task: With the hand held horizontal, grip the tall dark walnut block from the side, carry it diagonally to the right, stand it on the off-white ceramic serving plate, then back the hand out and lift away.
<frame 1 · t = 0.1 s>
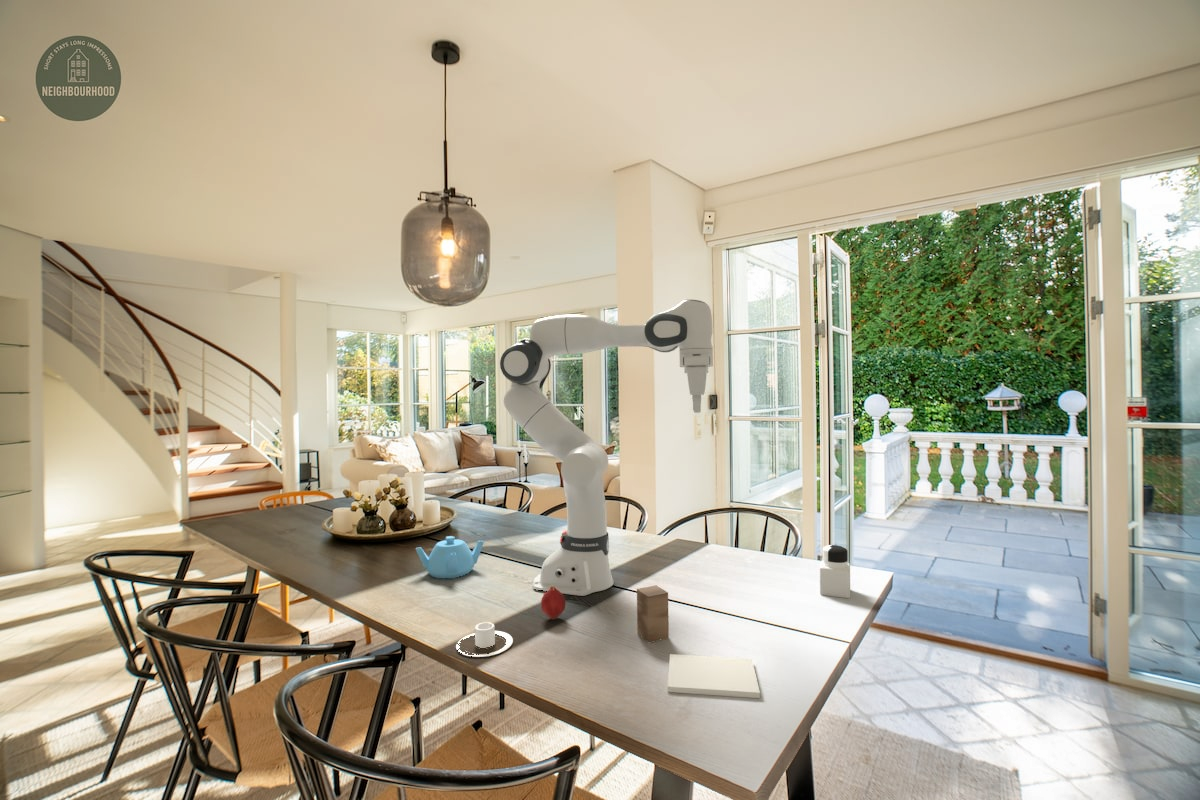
hand: (696, 411, 147), 48 cm above the table, tool pointing down, fingers open, 8 cm apart
medicine bottle: (835, 592, 143), on the table
candle holder: (484, 647, 117), on the table
teapot: (451, 573, 165), on the table
walnut block: (653, 635, 120), on the table
onion: (553, 619, 130), on the table
serving plate: (711, 677, 102), on the table
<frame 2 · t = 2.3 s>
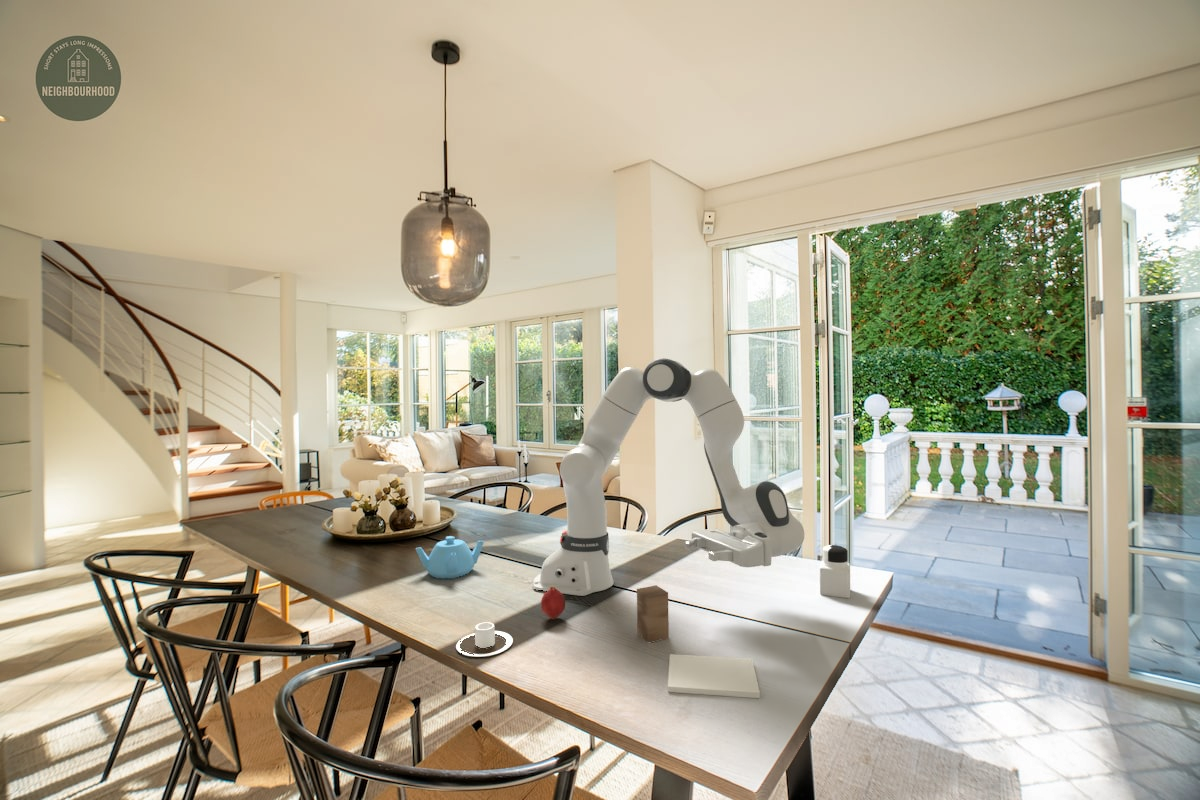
hand: (697, 551, 125), 17 cm above the table, tool horizontal, fingers open, 8 cm apart
nothing on the table moved.
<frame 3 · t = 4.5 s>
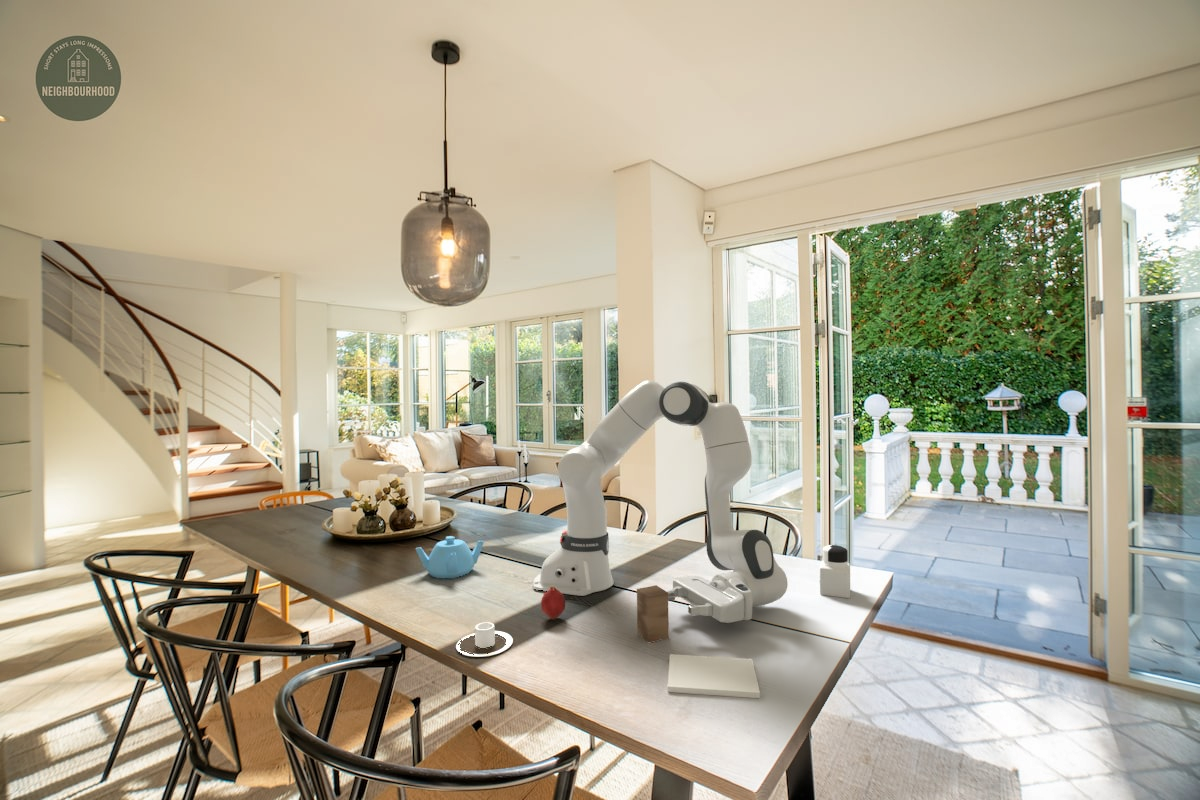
hand: (677, 603, 123), 6 cm above the table, tool horizontal, fingers open, 8 cm apart
nothing on the table moved.
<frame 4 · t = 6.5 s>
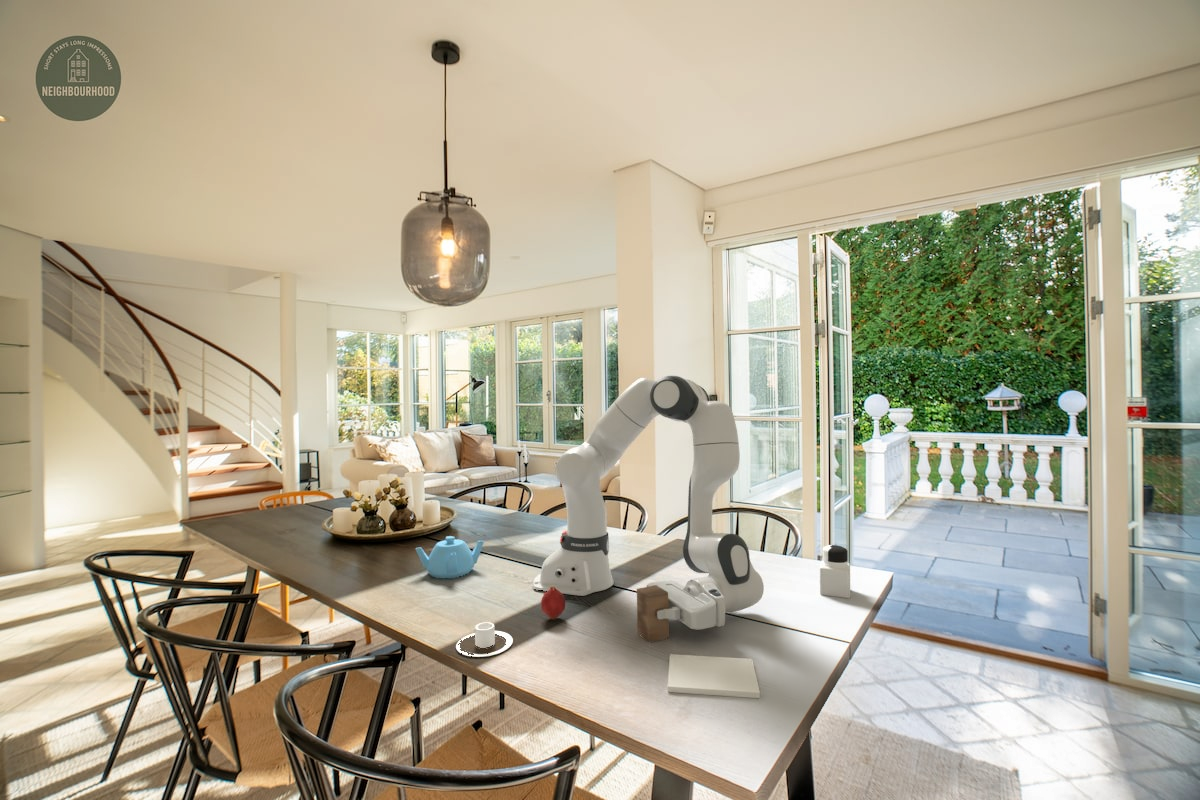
hand: (649, 609, 120), 6 cm above the table, tool horizontal, fingers closed on walnut block, 5 cm apart
walnut block: (653, 635, 120), on the table, touching gripper
everything else where it was.
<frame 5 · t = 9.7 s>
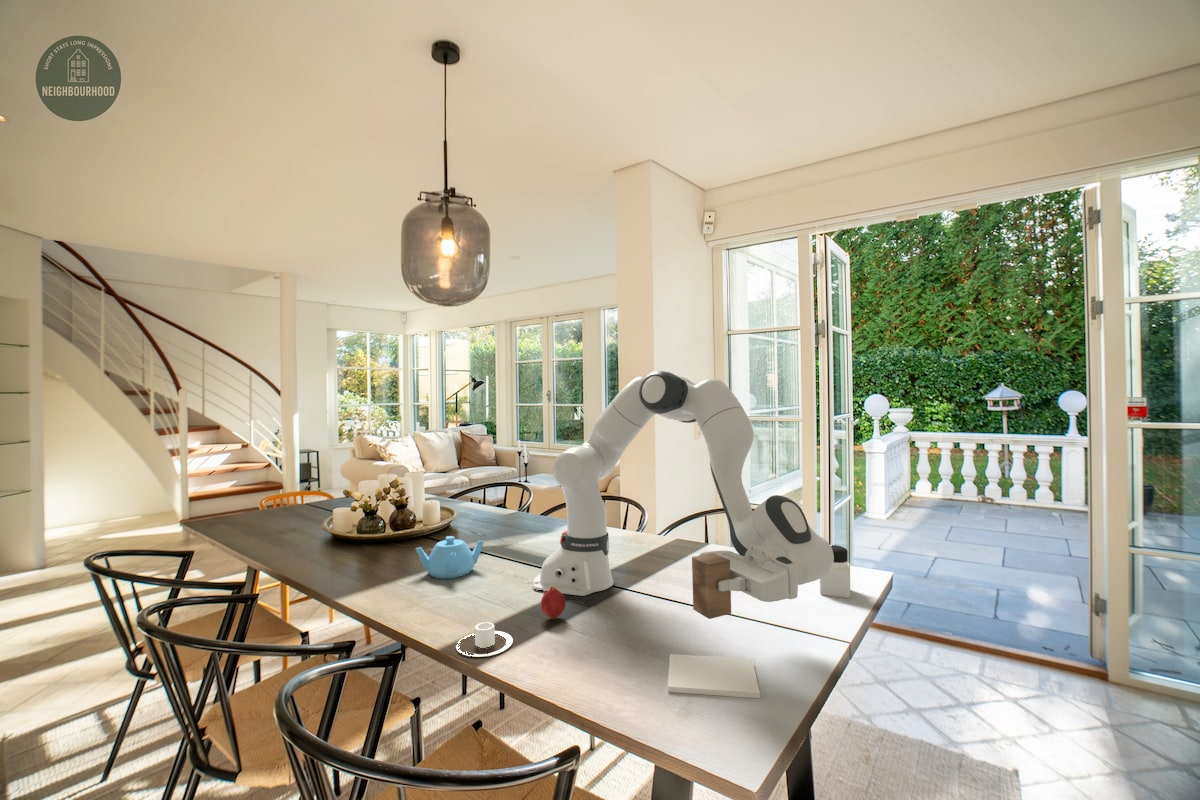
hand: (707, 580, 102), 18 cm above the table, tool horizontal, fingers closed on walnut block, 5 cm apart
walnut block: (712, 611, 102), point 12 cm above the table, touching gripper
everything else where it was.
when the fingers open (8 cm above the table, at t = 12.9 s): walnut block drops 1 cm, resting on serving plate.
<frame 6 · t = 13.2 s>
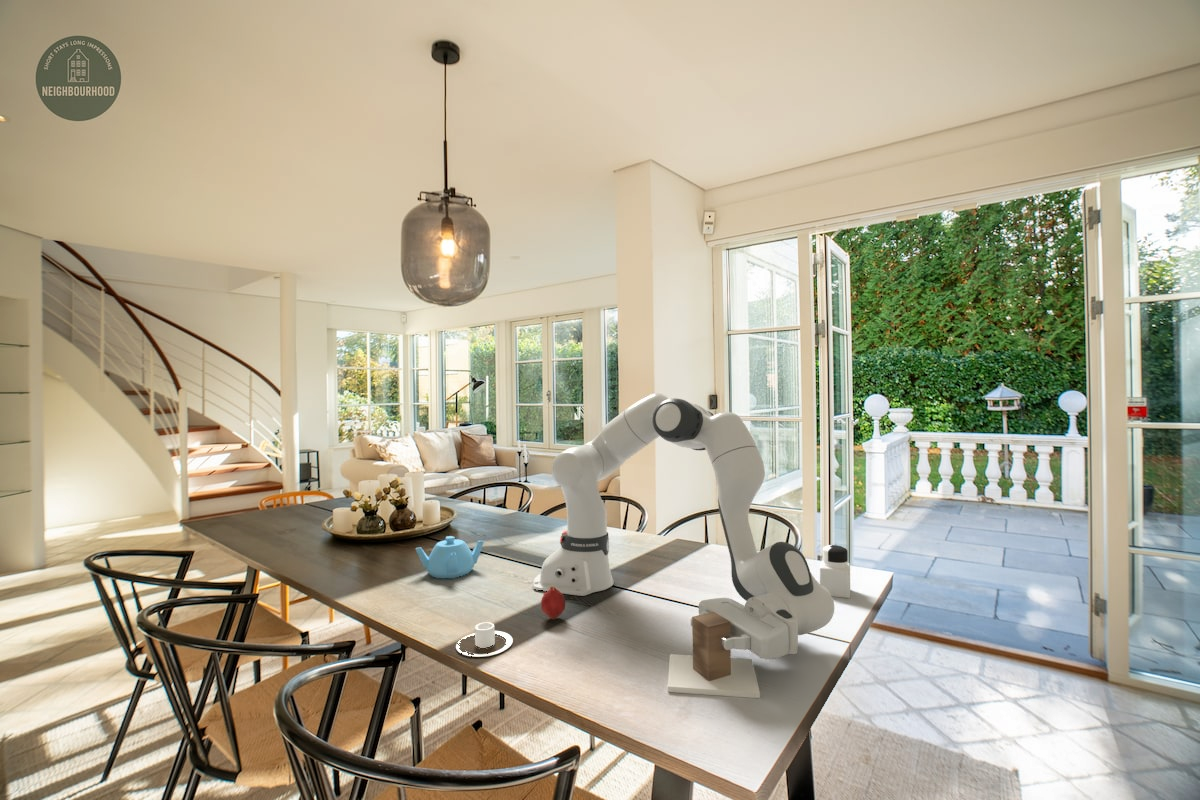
hand: (707, 633, 102), 8 cm above the table, tool horizontal, fingers open, 8 cm apart
walnut block: (711, 671, 102), point 1 cm above the table, touching serving plate
everything else where it was.
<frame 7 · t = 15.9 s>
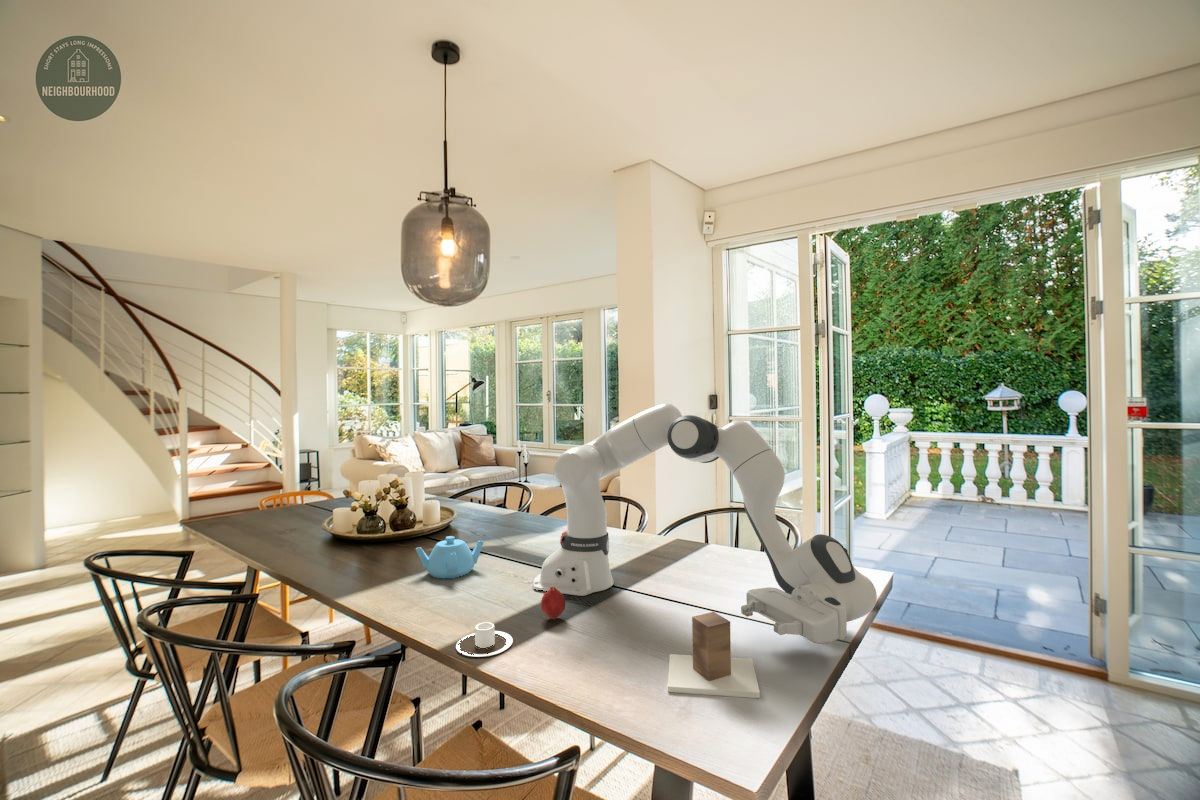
hand: (759, 620, 107), 9 cm above the table, tool horizontal, fingers open, 8 cm apart
nothing on the table moved.
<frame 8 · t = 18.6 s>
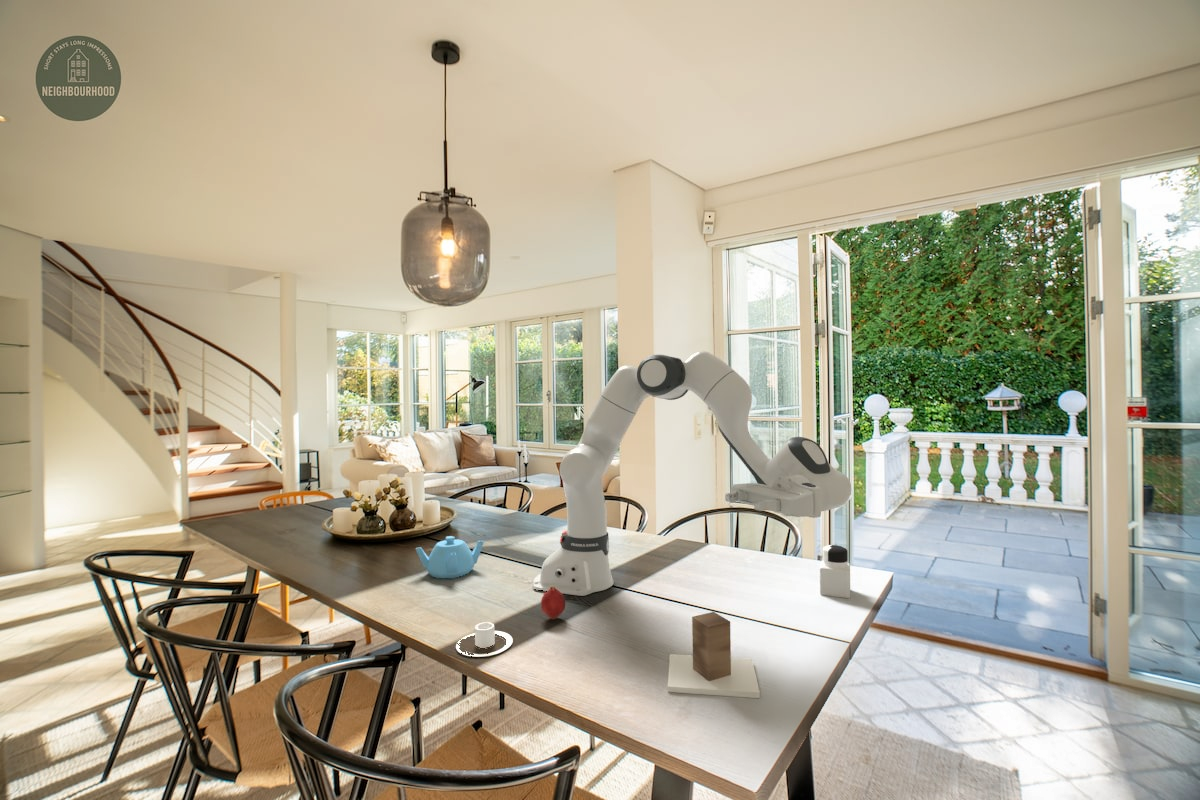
hand: (741, 502, 116), 30 cm above the table, tool horizontal, fingers open, 8 cm apart
nothing on the table moved.
at the end: walnut block inside the target area on the serving plate (0.1 cm from its centre), point 1.0 cm above the serving plate's base; walnut block tilted 0°; the gripper is holding nothing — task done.
